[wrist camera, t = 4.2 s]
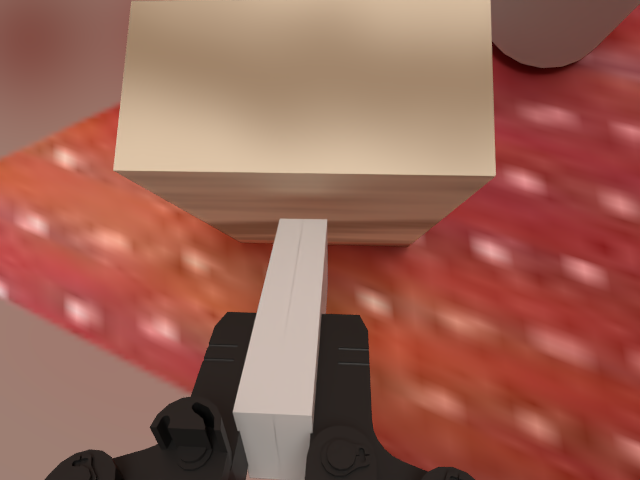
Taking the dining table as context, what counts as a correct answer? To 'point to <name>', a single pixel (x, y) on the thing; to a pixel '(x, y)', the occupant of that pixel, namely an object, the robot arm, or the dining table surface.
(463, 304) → the dining table surface
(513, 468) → the dining table surface
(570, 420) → the dining table surface
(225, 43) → the birch block
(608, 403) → the dining table surface
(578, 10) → the can
